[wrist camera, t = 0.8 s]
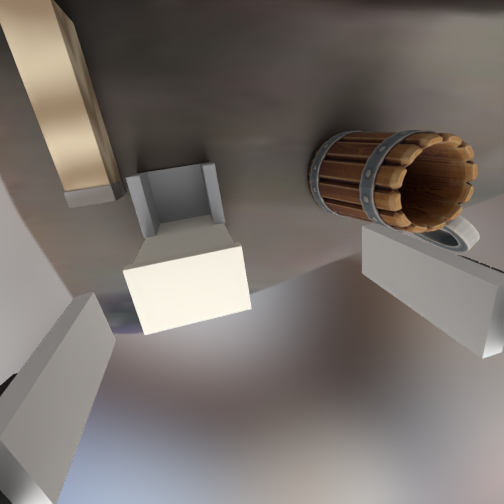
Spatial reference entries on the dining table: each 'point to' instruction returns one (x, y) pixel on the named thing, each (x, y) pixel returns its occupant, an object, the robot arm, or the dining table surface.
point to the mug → (399, 182)
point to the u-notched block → (183, 250)
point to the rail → (62, 99)
